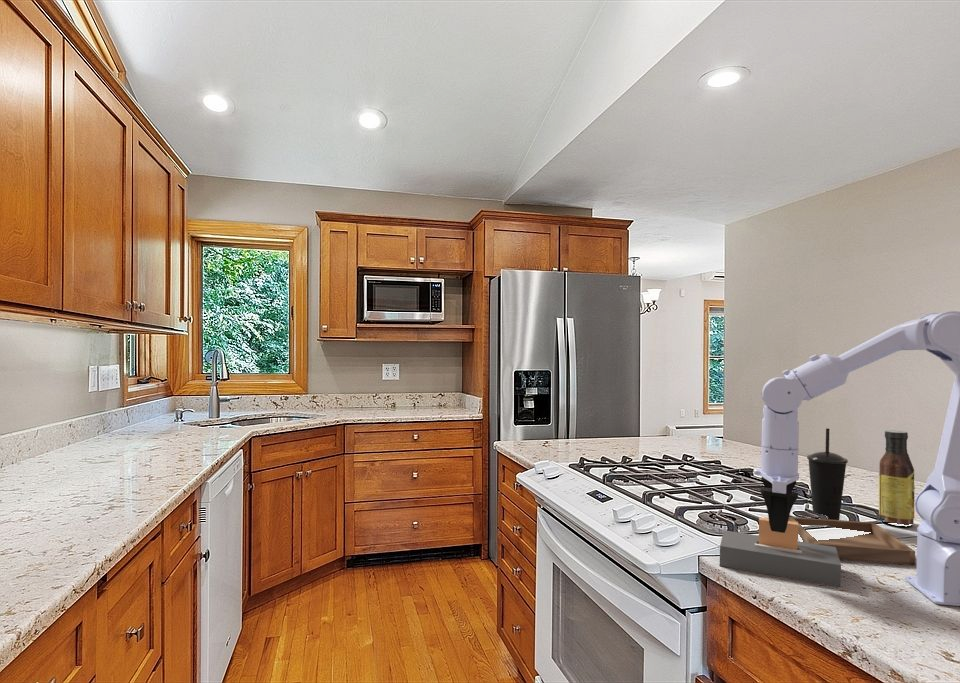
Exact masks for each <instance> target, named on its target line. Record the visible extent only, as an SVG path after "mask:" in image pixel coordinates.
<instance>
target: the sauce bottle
mask: <svg viewBox="0 0 960 683" xmlns="http://www.w3.org/2000/svg"><path fill="white" fill-rule="evenodd" d="M884 438H885V453H884V454H883V455H882V457H881V458H880V460H879V466H878V467H879V469H878V470H879V473H878V514H879V516H880V515H881V516H882V518H883V519H884V520H885V521H888V522H891V523H897V524H904V525H909V524H913V525H914V523H915V522H914V519H915V499H916V497H915V468H914V466H913V464H912V460H911V459H910V455H909V453H908V443H907V442H908V441H907V440H908V438H909V435H908V432H907V431H904V430H894V429H891V430H887V429H886V430H885V431H884Z"/></svg>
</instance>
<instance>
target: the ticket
mask: <svg viewBox="0 0 960 683" xmlns="http://www.w3.org/2000/svg"><path fill="white" fill-rule="evenodd" d="M758 536H759V544H762V545H769V546H775V547H782V548H788V549H795V550H798V542H799V540H798V522H791V521H788V524H787V528H786V531H785V533H781V532H775V531H771V528H770V524H769V517H762V516H761V517H758Z"/></svg>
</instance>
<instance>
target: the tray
mask: <svg viewBox="0 0 960 683" xmlns="http://www.w3.org/2000/svg"><path fill="white" fill-rule="evenodd" d="M788 521H791V522H797V521H798V522H799V523H800V524H801V525H829V526H831V527H836V528H842V529H850V530H857V531H864V532H871V533H869V534H865V535H864V534H863V535H858V536H854V537H846V538H840V539H829V540H818V541H817V540H816V539H815V538H814V537H812V536H811V535H810V534H809V533H808V532H807V531H806V530H805V529H804V528H803V527H802V526H801V525H800V524H799V523H798V534H799V535H800V537H801V538H802V540H803V542H805V543H812V544H818V545H825V546H832V547H836V550H837V553H838V556H839V560H840V561H853V562H867V563H879V564H894V565H904V566H915V565H916V550H914V549H913V548H912V547H910V546H909V545H907V544H906V543H904V542H902V541H901V540H899V539H898V537H897V538H896V537H895V536H894V535H893V534H891V533H889V532H888V531H887V530H885V529H884V528H882V527H881V526H880V525H878V524H877V523H875V522H873V521H872V522H871V521H856V520H840V519H839V520H830V519H815V518H813V517H798V516H789V519H788Z"/></svg>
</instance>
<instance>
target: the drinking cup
mask: <svg viewBox="0 0 960 683" xmlns="http://www.w3.org/2000/svg"><path fill="white" fill-rule="evenodd" d="M806 458H807V460H808V470H809V481H810V482H809V483H810V493H811V506H812V513H813V512H815V513H818V514H823V515H826V516H828V517H829V519H830V520H840V518H841V510H842V502H843V501H842V500H843V492H844V484H845V478H846V476H845V475H846V468H847V464H848V463H849V460H848V459H847V458H845V457H843V456H841V455H840V454H837V453H834V452H830V428H825V451H819V452H818V451H817V452H814V453H811V454H807V455H806Z"/></svg>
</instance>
